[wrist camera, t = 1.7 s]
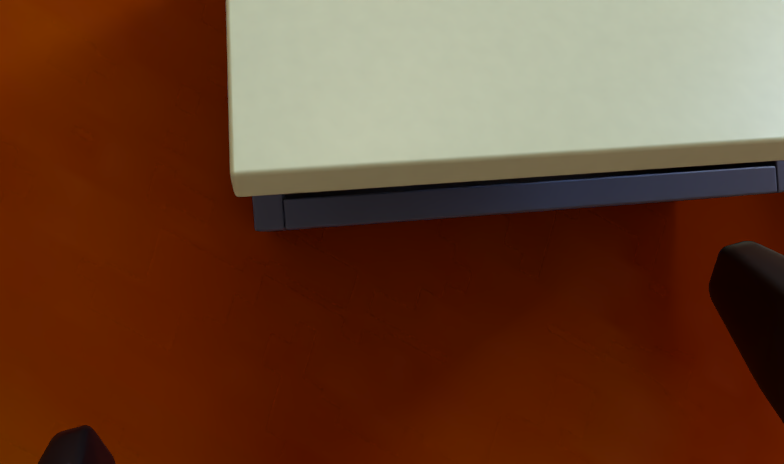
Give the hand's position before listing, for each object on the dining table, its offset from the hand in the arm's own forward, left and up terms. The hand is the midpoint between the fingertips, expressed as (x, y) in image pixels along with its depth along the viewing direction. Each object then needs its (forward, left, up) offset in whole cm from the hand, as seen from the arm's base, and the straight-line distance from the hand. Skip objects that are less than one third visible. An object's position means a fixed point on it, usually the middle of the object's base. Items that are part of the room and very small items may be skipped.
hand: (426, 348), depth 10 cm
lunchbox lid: (-2, -8, -4) cm, 9 cm away
